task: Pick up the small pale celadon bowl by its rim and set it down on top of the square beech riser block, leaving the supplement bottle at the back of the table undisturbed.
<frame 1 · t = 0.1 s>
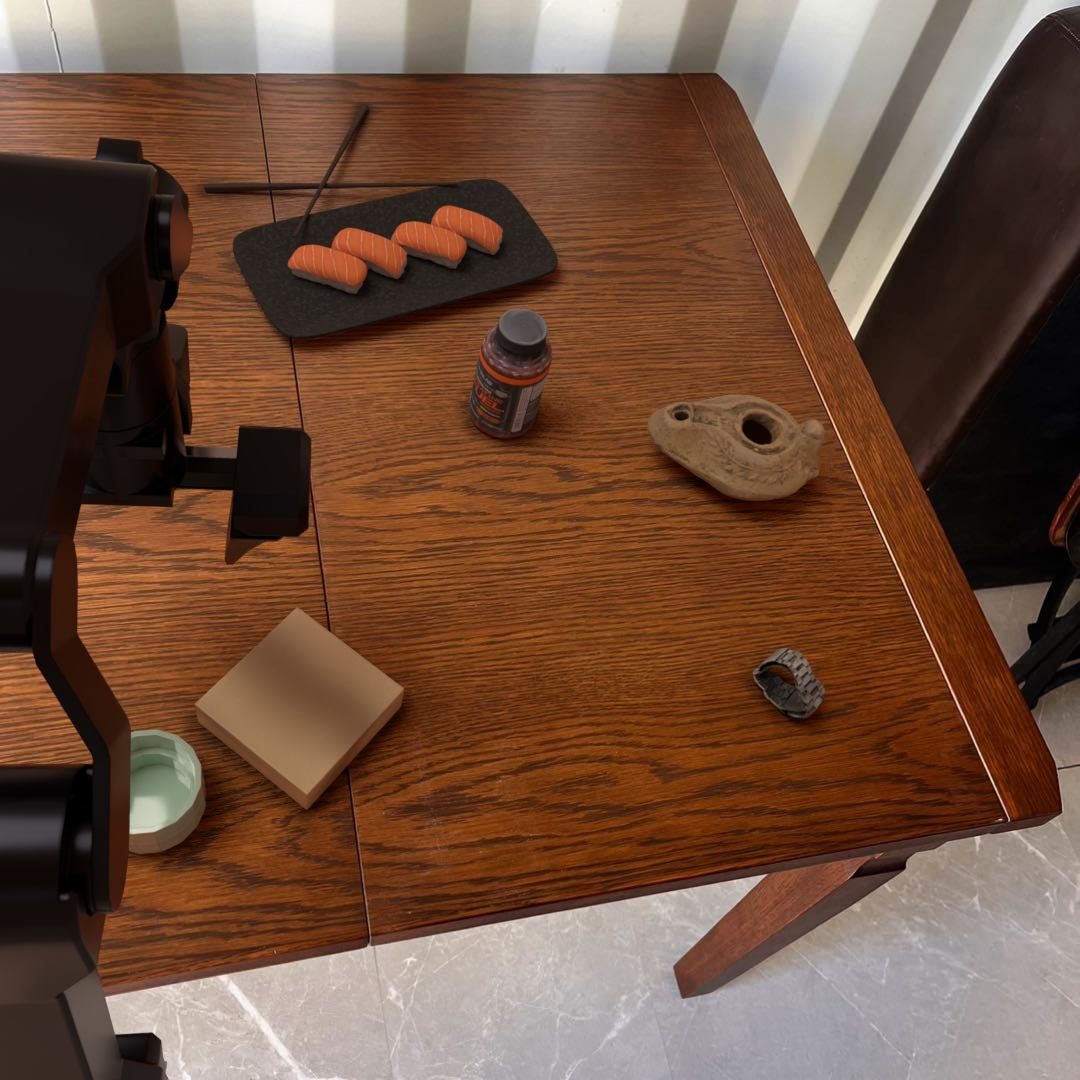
hand: (151, 556, 65), 14 cm above the table, tool pointing down, fingers open, 9 cm apart
supplement bottle: (500, 416, 95), on the table
sushi plate: (364, 214, 106), on the table
riser: (301, 714, 77), on the table
oil lamp: (720, 469, 97), on the table
bowl: (152, 804, 72), on the table
wristwatch: (781, 694, 85), on the table
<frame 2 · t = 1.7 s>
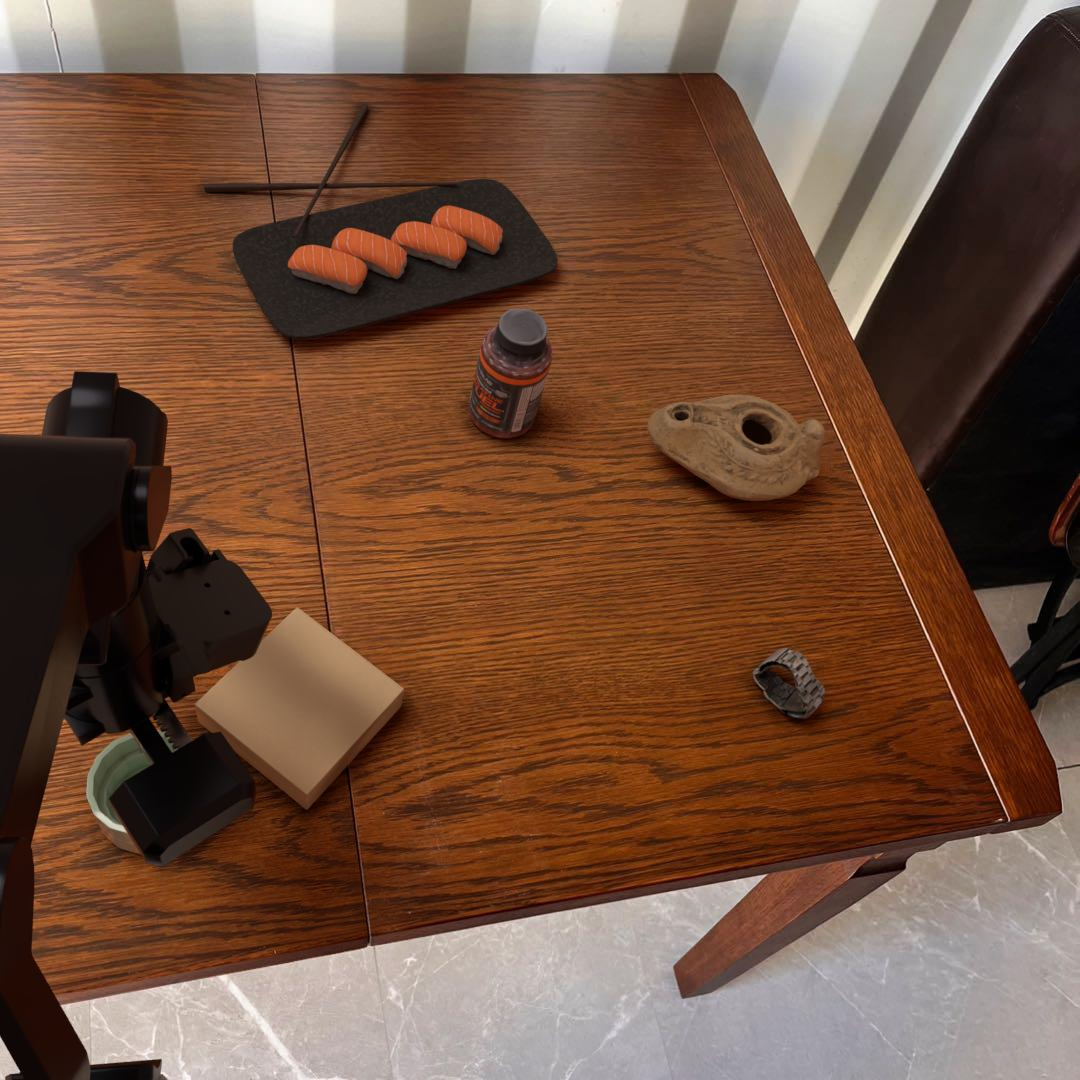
hand: (135, 751, 64), 9 cm above the table, tool pointing down, fingers open, 9 cm apart
nothing on the table moved.
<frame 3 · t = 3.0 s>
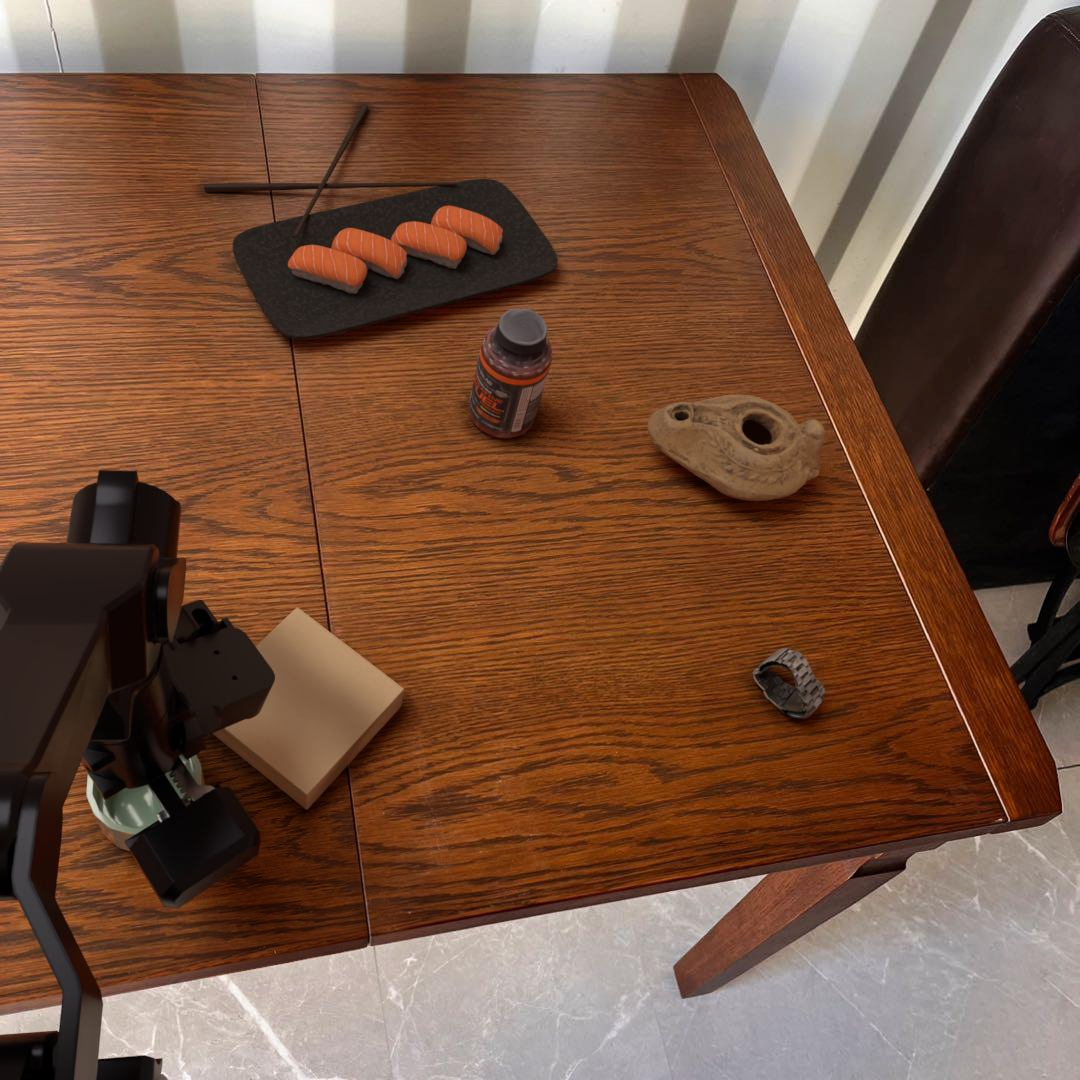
hand: (150, 796, 70), 2 cm above the table, tool pointing down, fingers closed on bowl, 7 cm apart
bowl: (152, 804, 72), on the table, touching gripper
everything else where it was.
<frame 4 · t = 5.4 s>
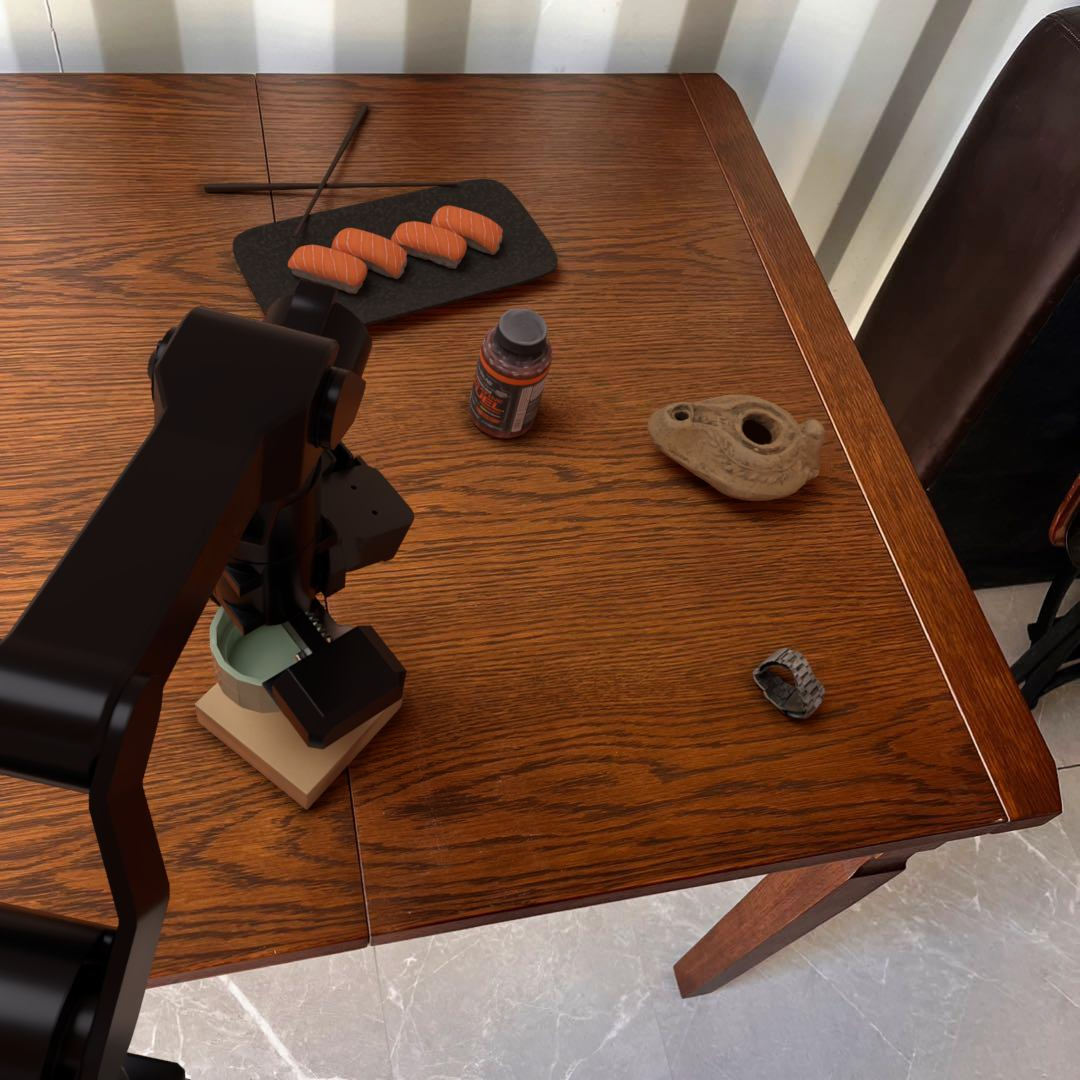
hand: (271, 655, 67), 11 cm above the table, tool pointing down, fingers closed on bowl, 7 cm apart
bowl: (271, 666, 68), point 10 cm above the table, touching gripper
everything else where it was.
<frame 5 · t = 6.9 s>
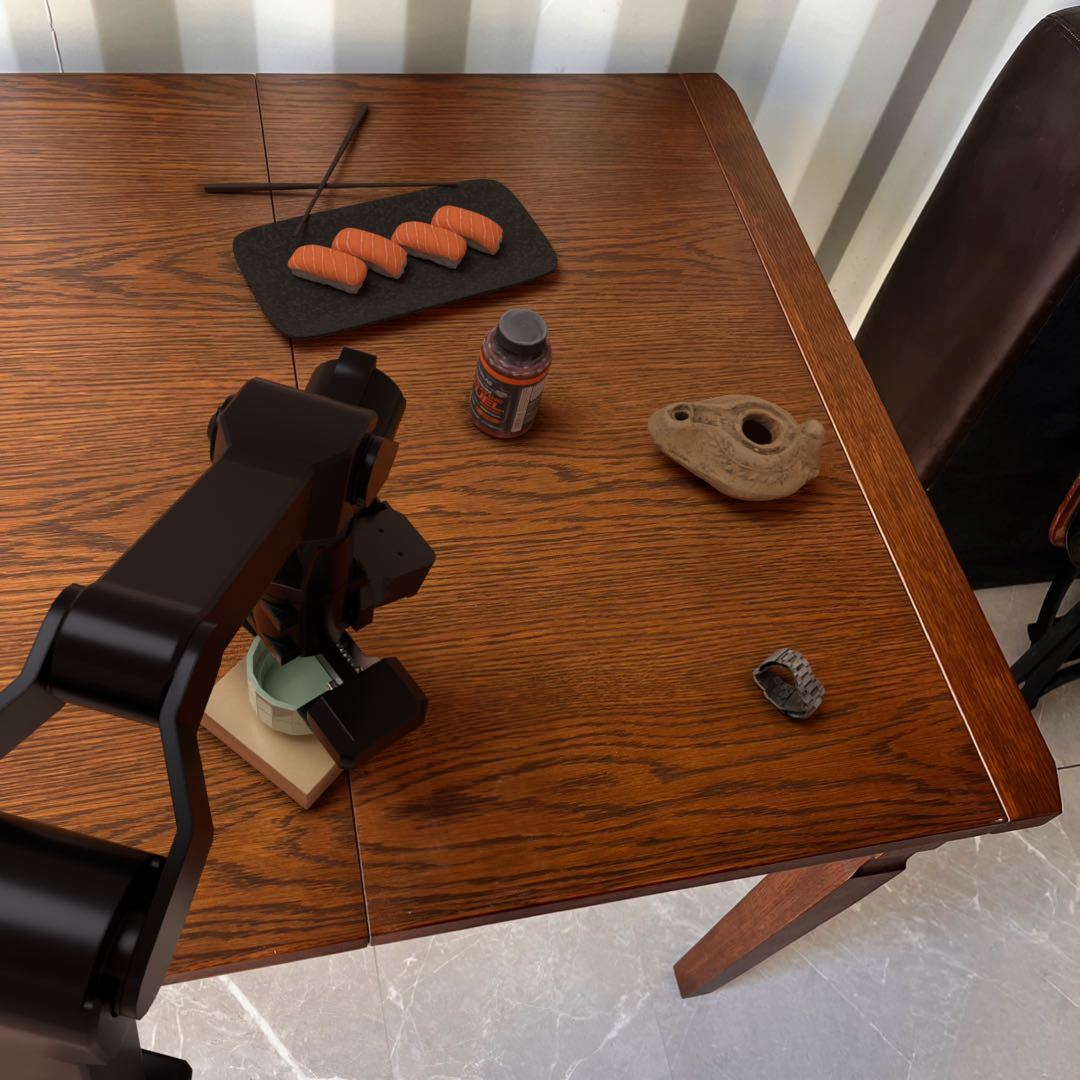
hand: (301, 681, 73), 5 cm above the table, tool pointing down, fingers closed on bowl, 7 cm apart
bowl: (301, 691, 74), point 4 cm above the table, touching gripper
everything else where it was.
when the fingers open (5 cm above the table, at t = 7.7 s): bowl stays where it is, resting on riser.
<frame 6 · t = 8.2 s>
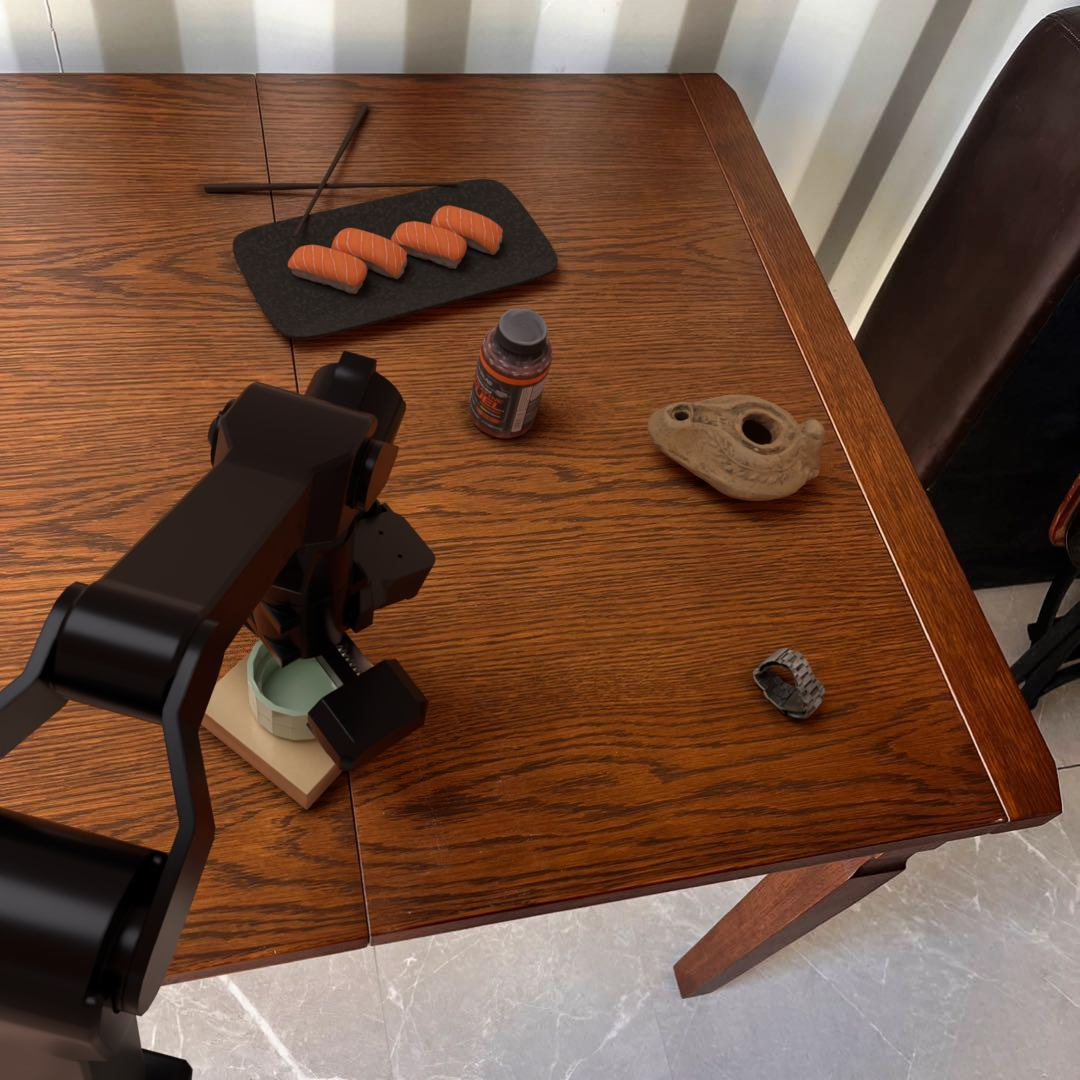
hand: (301, 683, 73), 5 cm above the table, tool pointing down, fingers open, 9 cm apart
bowl: (301, 696, 75), point 3 cm above the table, touching riser
everything else where it was.
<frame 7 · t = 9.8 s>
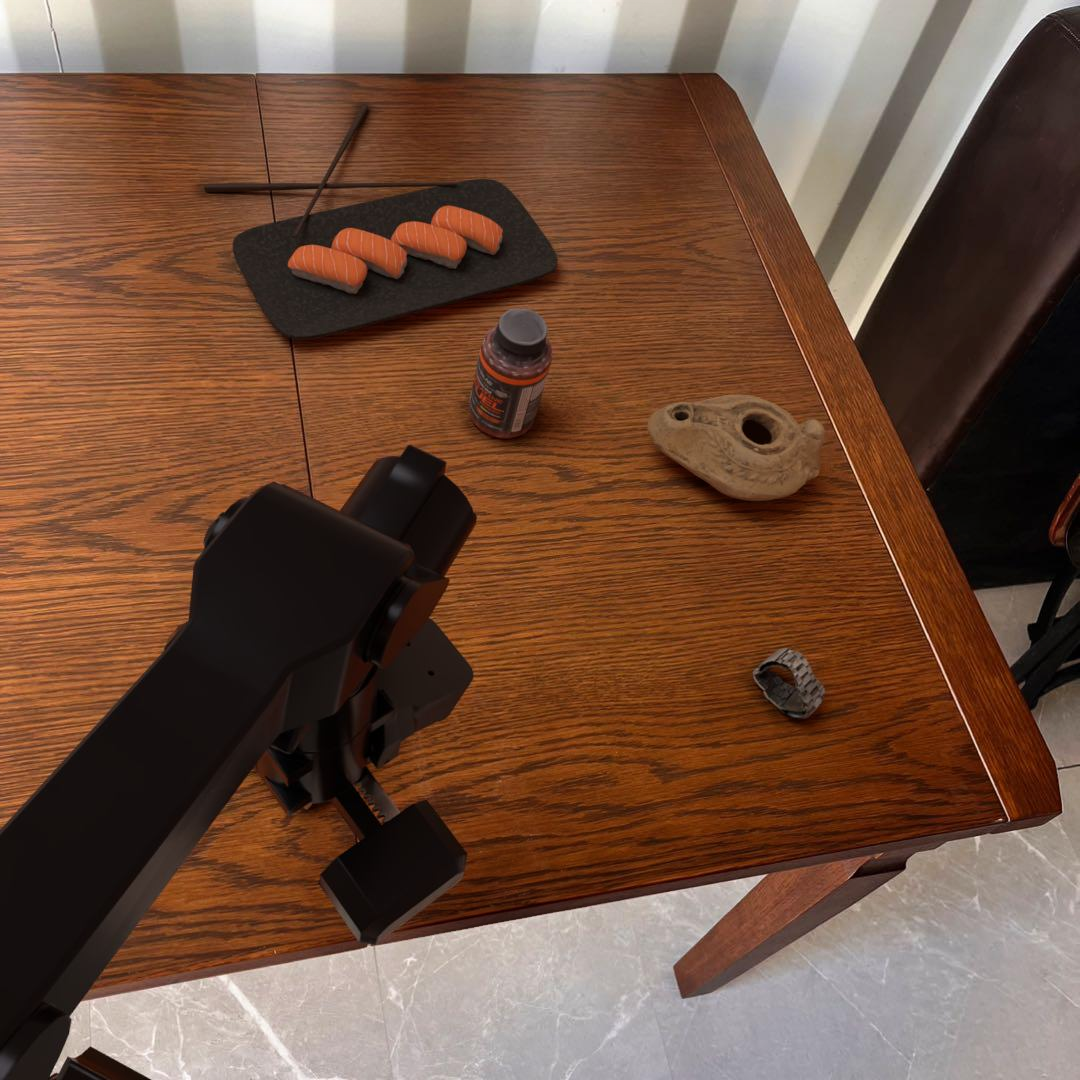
hand: (310, 810, 61), 12 cm above the table, tool pointing down, fingers open, 9 cm apart
nothing on the table moved.
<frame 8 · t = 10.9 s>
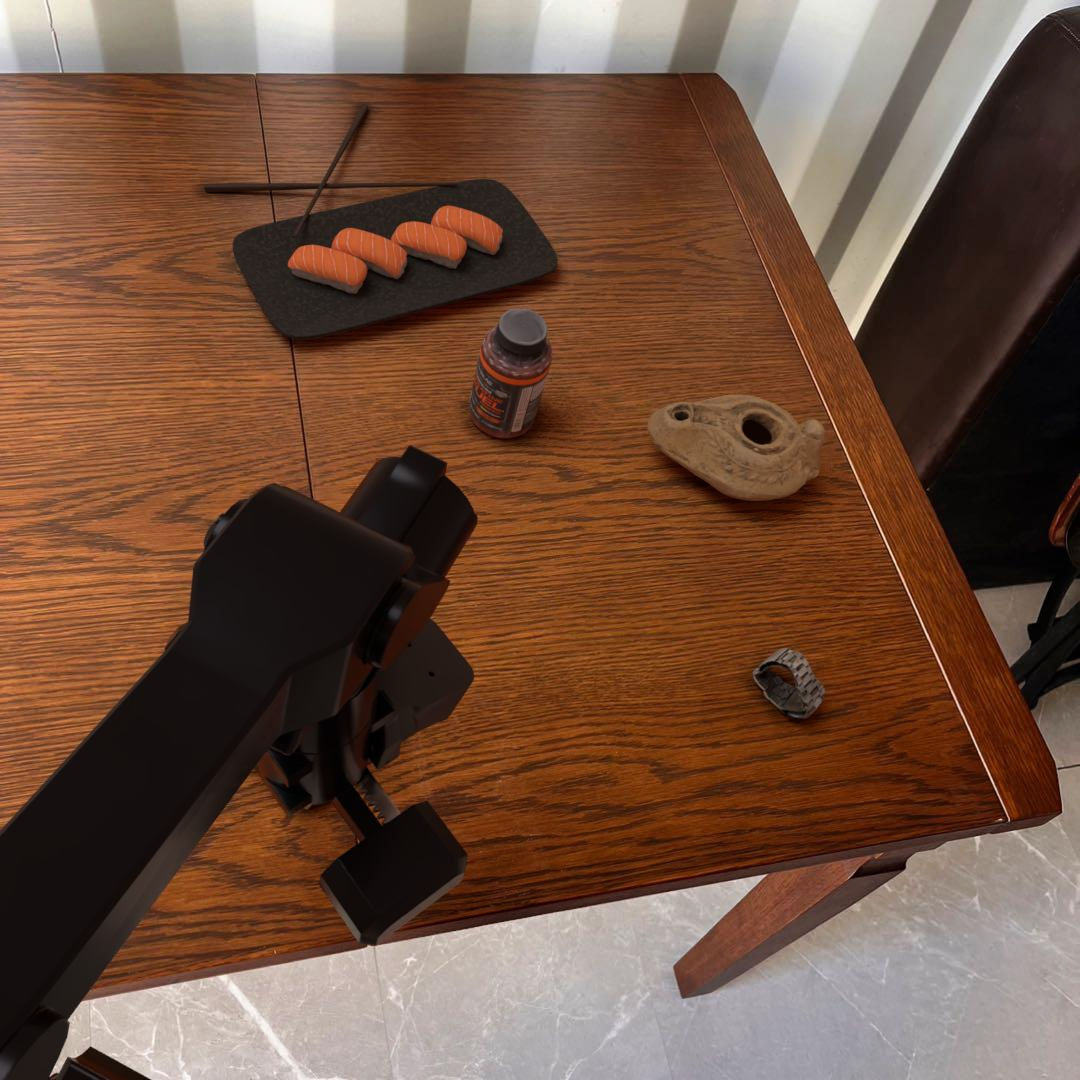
hand: (311, 811, 61), 12 cm above the table, tool pointing down, fingers open, 9 cm apart
nothing on the table moved.
at the end: bowl inside the target area on the riser (0.0 cm from its centre), point 3.0 cm above the riser's base; bowl tilted 0°; supplement bottle moved 0.2 cm from its start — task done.
